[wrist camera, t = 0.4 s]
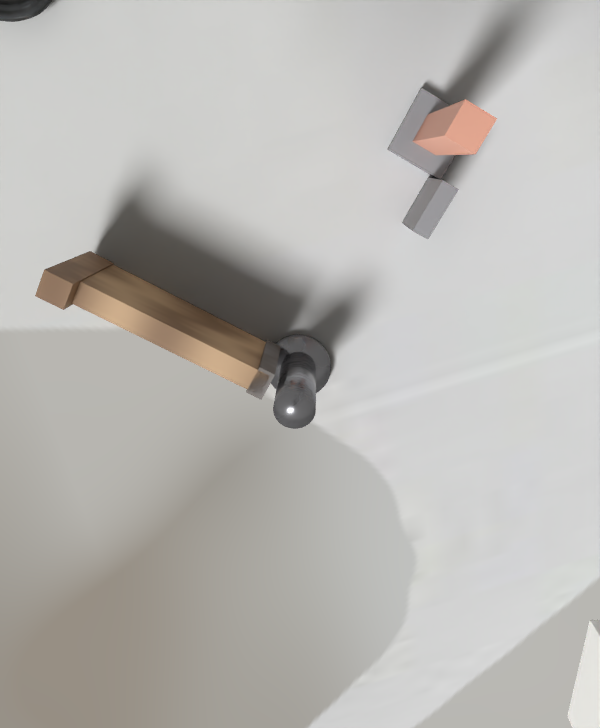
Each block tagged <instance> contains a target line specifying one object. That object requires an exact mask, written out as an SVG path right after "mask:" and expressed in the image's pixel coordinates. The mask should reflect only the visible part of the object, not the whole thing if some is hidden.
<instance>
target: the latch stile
mask: <svg viewBox="0 0 600 728" xmlns="http://www.w3.org/2000/svg"><path fill="white" fill-rule="evenodd" d="M496 120H497V118H495V117H493V116H492V115H490V114H489V113H487V112H485V111H484V110H482V109H480V108H479V107H477V106H476V105H474V104H472V103H471V102H469V101H468V100H466V99H465V100H463V101H460V102H458V103H455V104H453V105H449V104H447V103H446V102H444V101H442V100H441V99H439V98H438V97H436V96H434V95H433V94H431V93H429V92H428V91H426V90H425V89H423V88H422V89H420V91H419V93H418V94H417V96H416V98H415V100H414V102H413V104H412V105H411V107H410V109H409V111H408V113H407V114H406V116H405V118H404V120H403V122H402V124H401V125H400V127H399V129H398V131H397V133H396V135H395V136H394V138H393V140H392V142H391V144H390V145H389V147H388V150H389V151H391V152H393V153H394V154H396V155H398V156H400V157H401V158H403V159H405V160H406V161H408V162H410V163H411V164H413V165H415V166H417V167H418V168H420V169H422V170H423V171H425V172H427V173H429V174H430V175H432V176H434V177H435V178H437V179H434V178H428V179H427V181H426V182H425V184H424V186H423V188H422V189H421V191H420V193H419V194H418V196H417V198H416V200H415V201H414V203H413V205H412V206H411V208H410V210H409V211H408V213H407V215H406V217H405V218H404V220H403V222H402V223H403V224H404V225H406V226H407V227H408V228H410V229H411V230H412V231H414V232H416V233H417V234H419V235H421V236H423V237H424V238H426V239H429V237H430V235H431V234H432V232H433V230H434V229H435V227H436V226H437V224H438V222H439V221H440V219H441V217H442V216H443V214H444V212H445V211H446V209H447V208H448V206H449V204H450V203H451V201H452V199H453V198H454V196H455V194H456V193H457V191H458V190H459V189H457V188H455V187H454V186H452V185H450V184H449V183H447V182H445V181H444V180H441V179H442V177H443V175H444V173H445V172H446V170H447V168H448V167H449V165H450V163H451V162H452V160H453V158H454V157H455V155H468V154H476V152H477V151H478V149H479V148H480V146H481V144H482V143H483V141H484V139H485V138H486V136H487V134H488V133H489V131H490V129H491V128H492V126H493V125H494V123H495V121H496Z"/></svg>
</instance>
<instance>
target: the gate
mask: <svg viewBox="0 0 600 728" xmlns="http://www.w3.org/2000/svg"><path fill="white" fill-rule="evenodd" d="M113 264H114V263H112V262H110V261H108V260H106V259H104V258H102V257H100V256H99V255H97V254H95V253H93V252H91V251H89V252H87V253H84V254H82V255H79V256H77V257H75V258H72V259H70V260H67V261H65V262H62V263H60V264H57V265H55V266H52V267H50V268H48V269H45V270H44V272H43V275H42V278H41V281H40V284H39V287H38V289H37V292H36V295H35V296H36V297H38V298H40V299H42V300H44V301H47V302H49V303H51V304H53V305H55V306H57V307H59V308H61V309H63V310H64V309H66V308H67V307H69V306H71V305H72V304H74V305H76V306H78V307H80V308H82V309H84V310H86V311H88V312H91V313H93V314H95V315H97V316H99V317H101V318H103V319H105V320H107V321H109V322H111V323H113V324H115V325H117V326H119V327H121V328H123V329H125V330H127V331H129V332H131V333H134V334H136V335H138V336H140V337H142V338H144V339H146V340H148V341H150V342H152V343H154V344H156V345H158V346H160V347H162V348H164V349H166V350H168V351H170V352H172V353H174V354H176V355H178V356H180V357H182V358H184V359H187V360H189V361H190V362H193V363H195V364H197V365H199V366H201V367H203V368H205V369H207V370H209V371H211V372H213V373H215V374H217V375H219V376H221V377H223V378H225V379H227V380H230V381H231V382H234V383H235V384H237V385H239V386H242V387H244V388H246V389H247V391H246V392H247V393H249V394H251V395H253V396H255V397H257V398H259V399H262V397H263V396H264V394H265V392H266V390H267V388H268V387H269V385H270V383H271V381H272V379H273V378H274V376H275V372H276V367H277V362H278V357H279V352H280V347H281V346H279V345H277V344H275V343H273V342H271V341H269V340H267V341H266V342H265V341H263V340H261V339H259V338H257V337H255V336H253V335H251V334H249V333H247V332H245V331H243V330H241V329H239V328H237V327H235V326H233V325H231V324H229V323H227V322H225V321H223V320H221V319H219V318H217V317H215V316H214V315H212V314H210V313H208V312H206V311H204V310H202V309H200V308H198V307H196V306H194V305H192V304H190V303H188V302H186V301H184V300H182V299H180V298H178V297H176V296H174V295H172V294H170V293H168V292H166V291H164V290H162V289H160V288H158V287H156V286H154V285H152V284H150V283H148V282H146V281H145V280H143V279H141V278H139V277H137V276H135V275H133V274H131V273H129V272H127V271H125V270H123V269H121V268H119V267H117V266H115V265H113Z"/></svg>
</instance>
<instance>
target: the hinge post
mask: <svg viewBox="0 0 600 728" xmlns="http://www.w3.org/2000/svg"><path fill="white" fill-rule="evenodd" d="M276 344H277V345H279V346H281V347H280V352H279V357H278V362H277V367H276V372H275V376H274V378H273V379H272V381H271V384H272V385H273V386H274V387H275V388H276V389H277V390H276V396H275V401H274V407H273V411H274V415H275V417H276V419H277V420H278V422H279V423H280V424H282V425H283V426H285V427H288V428H302V427H304V426H306V425H308V424H309V423H310V422H311V421H312V420H313V418H314V416H315V410H316V393H317V392H318V391H320V390H321V389H322V388H323V387H324V386H325V384H326V383H327V381H328V379H329V376H330V372H331V364H330V358H329V355H328V352H327V351H326V349H325V348H324V346H323V345H322V344H321V343H320V342H318V341H317V340H315V339H314V338H311V337H309V336H305V335H292V336H288V337H285V338H283V339H281V340H280V341H278V342H277V343H276Z"/></svg>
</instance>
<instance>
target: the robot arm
mask: <svg viewBox="0 0 600 728" xmlns="http://www.w3.org/2000/svg"><path fill="white" fill-rule="evenodd" d="M568 719H569V721H570V723H571V725H572V727H573V728H600V620H590V623H589V627H588V631H587V635H586V640H585V644H584V648H583V653H582V657H581V661H580V665H579V669H578V673H577V678H576V682H575V687H574V690H573V695H572V699H571V703H570V707H569V712H568Z"/></svg>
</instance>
